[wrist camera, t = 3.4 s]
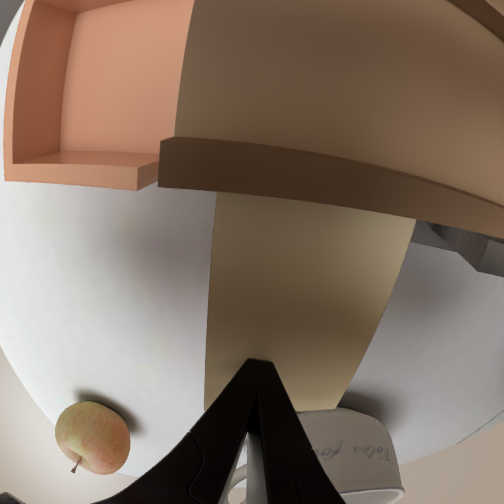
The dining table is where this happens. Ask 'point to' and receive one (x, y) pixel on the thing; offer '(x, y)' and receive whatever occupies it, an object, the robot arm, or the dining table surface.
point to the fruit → (93, 437)
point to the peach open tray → (93, 90)
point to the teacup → (350, 456)
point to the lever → (330, 166)
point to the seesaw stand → (463, 245)
